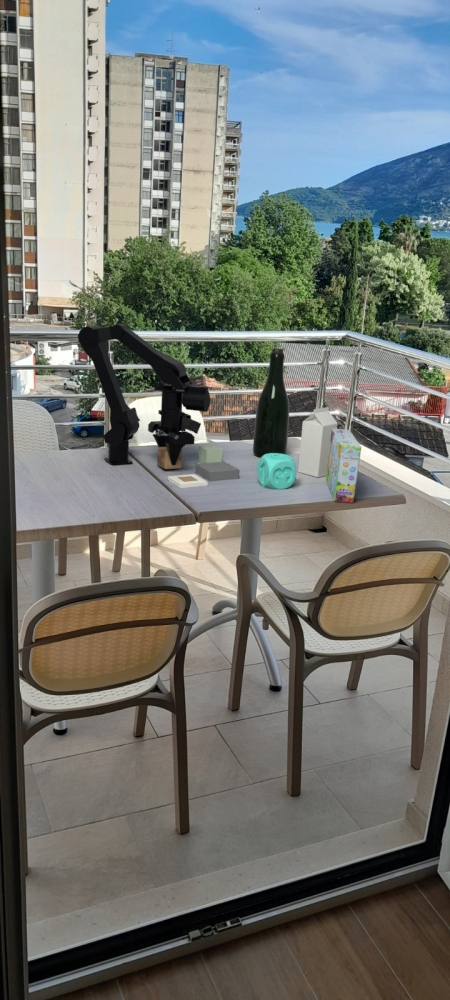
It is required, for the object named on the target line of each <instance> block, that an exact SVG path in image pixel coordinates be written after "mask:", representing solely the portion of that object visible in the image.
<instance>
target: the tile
mask: <svg viewBox="0 0 450 1000" xmlns="http://www.w3.org/2000/svg"><path fill="white" fill-rule="evenodd" d="M167 481H168V482H170V483H172V484H173V485H174V486H176V487H178V488H179V489H187V488H196V487H197V488H198V487H206V486H209V483H208V480H206V479H205V478H203V477H201V476H200V475H198V474H196V473H192V474H180V475H169V476H167Z"/></svg>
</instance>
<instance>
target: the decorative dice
mask: <svg viewBox="0 0 450 1000" xmlns="http://www.w3.org/2000/svg"><path fill="white" fill-rule="evenodd" d="M256 473H257V474H256V476H257V479H258V483H259V484H260V486H262V487H263V488H265V489H266V488H267V489H269V490H270V489H271V490H286V489H289V488H290V487H291V486H292V485H293V484H294V482H295V481H296V477H297V465H296V462H295V460H294V458H293V457H292V456H291V455H288V454H286V455H285V454H279V453H269V454H265V455H263V456H262V457H259V460H258V462H257V468H256Z"/></svg>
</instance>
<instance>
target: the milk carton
mask: <svg viewBox="0 0 450 1000" xmlns="http://www.w3.org/2000/svg"><path fill="white" fill-rule="evenodd" d="M329 410H330V407H329V406H327V407H322V408H320V407H319V408H314V409H313V412H311V413H310V414H309V416H308V417H306V418H305V419H304V420H302V428H301V437H300V438H301V439H300V446H299V447H300V449H299V450H300V451H299V461H298V468H297V469H298V471H297V473H300V474H304V475H307V476H311V477H315V478H321V477H326V473H327V465H328V457H329V448H330V440H331V431H332V429H338V421H336V419H335V418H334V417H333V414H331V412H330V411H329Z"/></svg>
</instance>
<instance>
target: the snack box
mask: <svg viewBox="0 0 450 1000" xmlns="http://www.w3.org/2000/svg"><path fill="white" fill-rule="evenodd" d="M361 453H362V446H361V445H360V442H358V440H357V438H356V437H355V436H354V435H353V433H352V431H351V430H350V429H344V428H337V429H332V431H331V440H330V448H329V457H328V465H327V473H326V475H325V481H326V483H327V486H328V488H329V491H330V494H331V495H332V498H333V501H334V502H337V503H349V504H354V501H355V495H356V494H355V493H356V487H357V481H358V472H359V467H360V458H361Z"/></svg>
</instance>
